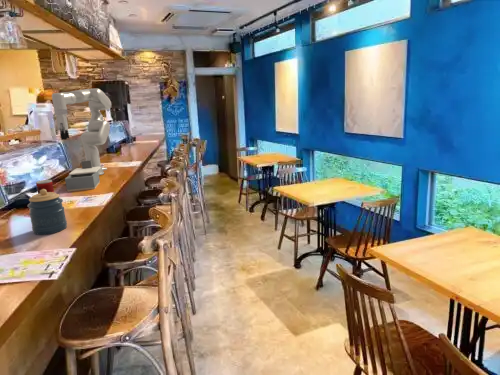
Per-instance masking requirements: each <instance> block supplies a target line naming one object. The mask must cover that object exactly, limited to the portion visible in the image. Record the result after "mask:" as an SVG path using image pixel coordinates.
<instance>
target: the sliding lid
mask: <svg viewBox="0 0 500 375" xmlns="http://www.w3.org/2000/svg"><path fill="white" fill-rule="evenodd" d="M80 163H81V167H79V168H78V167H77V168H75V169H73V170H72V171H71V172H69V173H68V176H69V175H76V174H87V173H96V172H97V171H98V170H99V169H100V168H101V167H102V166H101V167H100V166H99V167H92V161H91V160H88V161H86V160H81V162H80Z"/></svg>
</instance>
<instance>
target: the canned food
mask: <svg viewBox="0 0 500 375" xmlns="http://www.w3.org/2000/svg"><path fill="white" fill-rule="evenodd" d="M35 184H36V190H37V194H40V190H42V189H45V190H47V192H55V188H54V185H53V184H54V183H53V180H52V179H42V180H38V181H36V182H35Z"/></svg>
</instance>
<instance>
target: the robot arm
mask: <svg viewBox="0 0 500 375" xmlns="http://www.w3.org/2000/svg"><path fill="white" fill-rule="evenodd" d="M51 99H52V106H53V113H54V115H55V116H56V117H55V119H56V126H57V131H59V132H60V134H59V135H60V139H61V140H62V141H63V140H68V139H70V134H69V130H68V129H69V125H68V124H69V123H68V119H67V115H68V107H67V105H73V104H81V103H85V102H88V108H89V111H90V114H91V116H90V120H89V121H88V124H87V131H85V132H83V133H82V134H81V135H80V140H81V144H82V147H83V150H84V157H85V161H88V160H91V161H92V167H99V166H100V167H101V168H100V169H99V170H98V173H99V176H101V175H104V174H105V172H104V171H107V170H108V168H107V167H106V166H105V167H102V166H101V159H100V152H99V149H98V147H97V146H101V145H104V144H105V143H106V142H107V140H108V136H109V134H110V129H111V125H110V122H108V120H104V115H103V114H102V113H101V111H104V110H105V111H106V110H110V109H111V108H112V101H111V100H110V98H109V97H108V96H107V95H106V94H105V92H104V91H103V90H101V89H100V88H97V87H96V88H85V89H77V90H72V91H65V92H54V93H52V94H51Z"/></svg>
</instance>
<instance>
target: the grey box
mask: <svg viewBox="0 0 500 375" xmlns="http://www.w3.org/2000/svg"><path fill="white" fill-rule="evenodd" d="M64 180H65V181H64V182H65V186H66V191H67V192H76V191H87V190H95V189H96V188H97V187H98V186H99V184H100V183H101V182H100V175H99V173H98V171H97V172H96V173H87V174H76V175H69V174H68V175H67V177H65V178H64Z"/></svg>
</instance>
